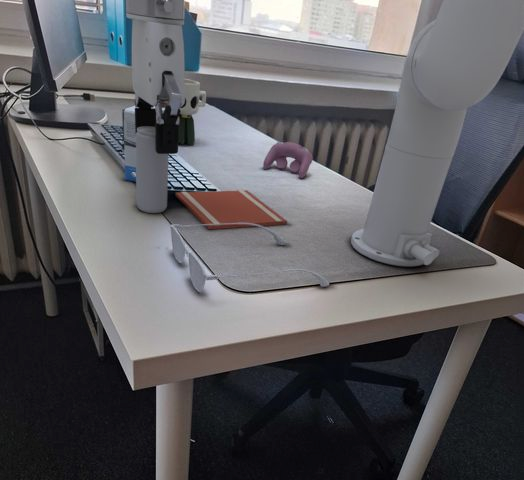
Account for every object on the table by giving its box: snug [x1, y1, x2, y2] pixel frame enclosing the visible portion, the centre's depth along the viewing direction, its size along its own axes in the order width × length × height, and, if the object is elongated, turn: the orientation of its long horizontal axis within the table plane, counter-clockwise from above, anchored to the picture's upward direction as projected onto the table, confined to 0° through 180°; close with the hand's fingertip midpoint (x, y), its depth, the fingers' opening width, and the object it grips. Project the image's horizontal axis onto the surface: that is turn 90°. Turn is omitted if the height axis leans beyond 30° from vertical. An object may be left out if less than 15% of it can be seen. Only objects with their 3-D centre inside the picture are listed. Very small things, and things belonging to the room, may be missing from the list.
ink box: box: [124, 105, 165, 183], centre depth 92 cm, size 8×5×12 cm, turn 168°
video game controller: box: [262, 141, 314, 179], centre depth 110 cm, size 10×5×7 cm, turn 65°
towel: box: [174, 189, 288, 230], centre depth 87 cm, size 15×14×1 cm
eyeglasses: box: [169, 223, 330, 293], centre depth 68 cm, size 15×18×4 cm
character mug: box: [178, 78, 207, 145], centre depth 115 cm, size 11×7×13 cm, turn 117°
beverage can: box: [135, 126, 170, 214], centre depth 79 cm, size 5×5×12 cm
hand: (155, 144), depth 77 cm, fingers open, 9 cm apart
